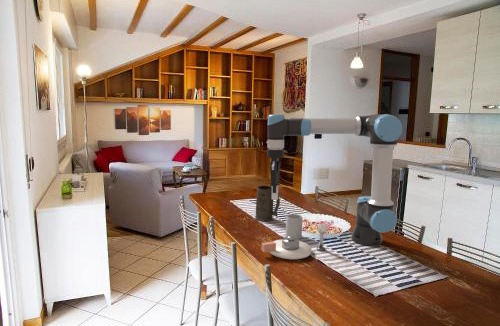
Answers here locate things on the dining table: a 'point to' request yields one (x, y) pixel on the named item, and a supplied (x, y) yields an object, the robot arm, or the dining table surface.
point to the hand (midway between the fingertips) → (274, 199)
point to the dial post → (321, 236)
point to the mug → (294, 225)
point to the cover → (290, 243)
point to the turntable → (278, 251)
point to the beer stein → (265, 204)
